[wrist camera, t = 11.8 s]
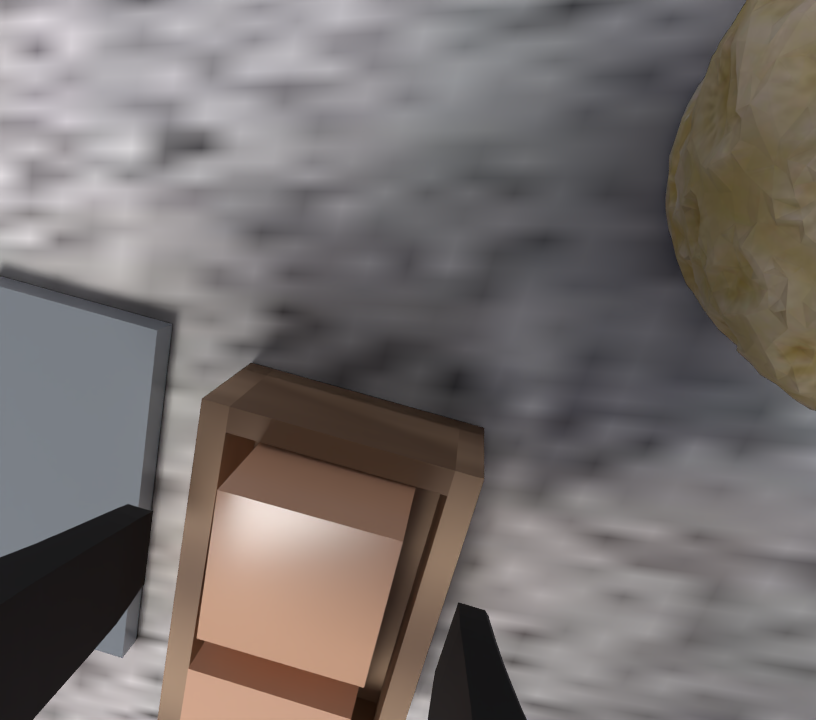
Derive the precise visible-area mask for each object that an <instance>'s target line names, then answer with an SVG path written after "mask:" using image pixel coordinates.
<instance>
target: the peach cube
mask: <svg viewBox="0 0 816 720" xmlns="http://www.w3.org/2000/svg"><path fill="white" fill-rule="evenodd" d="M358 689H359V686H356V685H353V684H349V683H346V682H342V681H339V680H336V679H332V678H329V677H326V676H322V675H319V674H315V673H312V672H309V671H305V670H302V669H299V668H295V667H292V666H288V665H285V664H282V663H278V662H275V661H271V660H268V659H265V658H261V657H258V656H255V655H251V654H248V653H244V652H241V651H238V650H234V649H231V648H227V647H224V646H221V645H217V644H214V643H211V642H207V641H205V642H204V644H203V645H202V647H201V649H200V650H199V652H198V653H197V655H196V657H195V658H194V660H193V662H192V663H191V665H190V666H189V668H188V672H187V679H186V685H185V691H184V698H183V704H182V711H181V717H180V720H351V717H352V713H353V709H354V705H355V701H356V697H357V693H358Z"/></svg>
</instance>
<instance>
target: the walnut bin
mask: <svg viewBox="0 0 816 720" xmlns="http://www.w3.org/2000/svg"><path fill="white" fill-rule="evenodd" d="M260 442H261V443H265V444H268V445H272V446H275V447H279V448H282V449H286V450H289V451H293V452H296V453H299V454H303V455H306V456H310V457H313V458H317V459H320V460H324V461H327V462H331V463H334V464H338V465H341V466H345V467H348V468H352V469H355V470H359V471H362V472H366V473H369V474H373V475H376V476H380V477H383V478H386V479H390V480H393V481H397V482H400V483H404V484H407V485H411V486H414V487H416V488H415V492H414V496H413V501H412V505H411V510H410V514H409V518H408V523H407V527H406V531H405V536H404V540H403V544H402V548H401V551H400V555H399V559H398V563H397V566H396V570H395V574H394V578H393V581H392V585H391V589H390V592H389V596H388V600H387V604H386V607H385V611H384V615H383V619H382V622H381V626H380V630H379V634H378V637H377V641H376V645H375V648H374V652H373V656H372V660H371V663H370V667H369V671H368V675H367V678H366V682H365V686H364V688H363V687H359V689H358V693H357V697H356V701H355V705H354V709H353V713H352V717H351V720H406V717H407V714H408V711H409V708H410V705H411V701H412V698H413V695H414V692H415V689H416V686H417V683H418V680H419V677H420V674H421V671H422V668H423V665H424V662H425V659H426V656H427V653H428V649H429V646H430V643H431V640H432V637H433V634H434V631H435V628H436V625H437V622H438V619H439V616H440V613H441V610H442V607H443V604H444V601H445V598H446V594H447V591H448V588H449V585H450V582H451V579H452V576H453V573H454V570H455V567H456V564H457V561H458V558H459V555H460V552H461V549H462V546H463V543H464V539H465V536H466V533H467V530H468V527H469V524H470V521H471V518H472V515H473V512H474V509H475V506H476V503H477V500H478V497H479V494H480V491H481V488H482V484H483V481H484V428H483V427H479V426H476V425H472V424H468V423H465V422H461V421H458V420H454V419H451V418H447V417H443V416H440V415H436V414H433V413H429V412H426V411H422V410H418V409H415V408H411V407H408V406H404V405H401V404H397V403H393V402H390V401H386V400H383V399H379V398H376V397H372V396H368V395H365V394H361V393H358V392H354V391H351V390H347V389H343V388H340V387H336V386H333V385H329V384H326V383H322V382H318V381H315V380H311V379H308V378H304V377H301V376H297V375H293V374H290V373H286V372H283V371H279V370H276V369H272V368H268V367H265V366H261V365H258V364H254V363H250V364H249V365H247V366H246V367H245V368H243V369H242V370H241V371H239V372H238V373H236V374H235V375H234V376H232V377H231V378H230V379H228V380H227V381H226V382H224V383H223V384H221V385H220V386H219V387H217V388H216V389H215V390H213V391H212V392H210V393H209V394H208V395H206V396H205V397H204V398H202V402H201V409H200V417H199V424H198V431H197V438H196V446H195V453H194V460H193V467H192V475H191V482H190V489H189V496H188V503H187V511H186V518H185V525H184V532H183V540H182V547H181V554H180V561H179V569H178V576H177V583H176V590H175V597H174V605H173V612H172V619H171V626H170V634H169V641H168V648H167V655H166V662H165V670H164V677H163V684H162V691H161V699H160V706H159V713H158V720H180V717H181V711H182V704H183V698H184V691H185V685H186V679H187V672H188V668H189V666H190V665H191V663H192V662H193V660H194V658H195V657H196V655H197V653H198V652H199V650H200V649H201V647H202V645H203V644H204V642H205V641H204V640H200V639H197V632H198V625H199V618H200V610H201V603H202V596H203V589H204V582H205V575H206V568H207V560H208V553H209V546H210V539H211V532H212V525H213V517H214V510H215V503H216V496H217V490H218V489H219V487H220V486H221V485H222V484H223V483H224V482H225V481H226V480H227V479H228V477H229V476H230V475H231V474H232V473H233V472H234V471H235V470H236V468H237V467H238V466H239V465H240V464H241V463H242V462H243V461H244V460H245V458H246V457H247V456H248V455H249V454H250V453H251V452H252V451H253V450H254V448H255V447H256V446H257V445H258V444H259V443H260Z"/></svg>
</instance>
